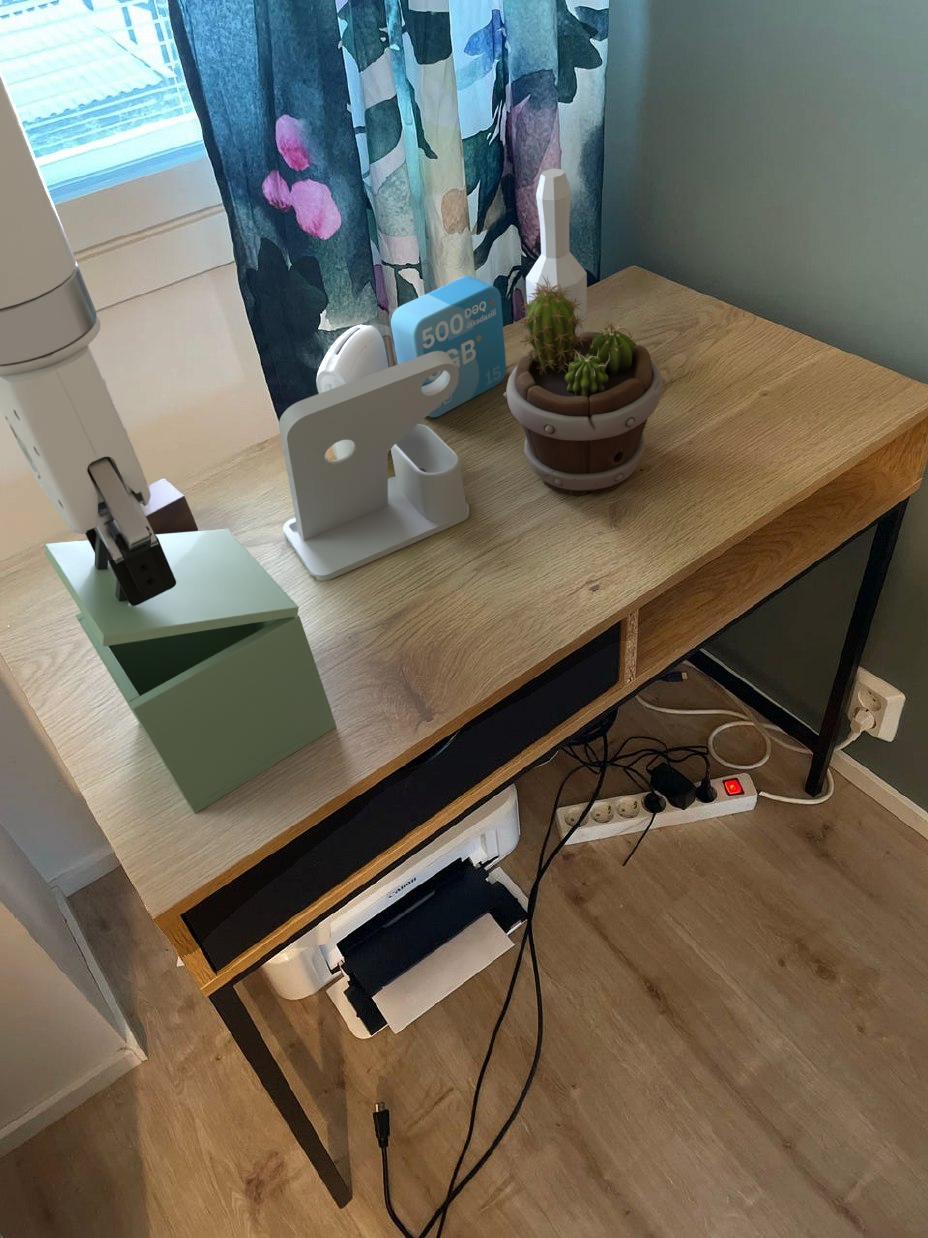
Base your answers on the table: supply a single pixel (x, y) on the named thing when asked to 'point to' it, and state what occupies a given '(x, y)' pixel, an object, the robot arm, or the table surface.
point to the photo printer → (351, 365)
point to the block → (168, 510)
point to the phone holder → (371, 467)
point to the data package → (455, 335)
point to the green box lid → (201, 599)
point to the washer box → (221, 700)
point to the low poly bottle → (557, 245)
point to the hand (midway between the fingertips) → (135, 569)
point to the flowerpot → (581, 398)
